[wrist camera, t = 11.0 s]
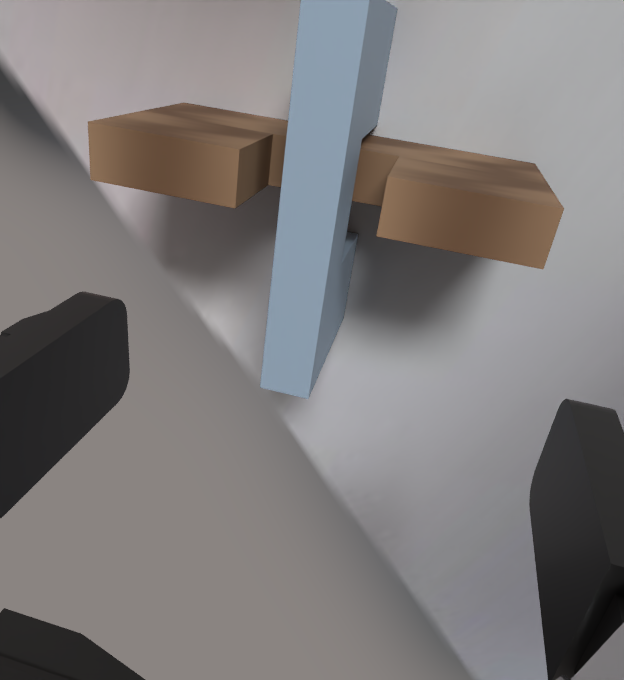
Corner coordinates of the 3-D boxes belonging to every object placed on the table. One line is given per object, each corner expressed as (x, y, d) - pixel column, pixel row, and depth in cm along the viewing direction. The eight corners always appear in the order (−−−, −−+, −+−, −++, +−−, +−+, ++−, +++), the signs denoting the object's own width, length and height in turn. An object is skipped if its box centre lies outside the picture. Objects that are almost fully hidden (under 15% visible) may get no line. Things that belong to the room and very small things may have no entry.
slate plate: (349, 1, 24) (302, -19, 17) (397, 8, 24) (370, -9, 17) (306, 309, 30) (260, 387, 23) (343, 317, 30) (308, 399, 23)
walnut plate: (534, 163, 25) (563, 208, 18) (521, 209, 26) (543, 269, 19) (183, 102, 27) (87, 121, 20) (182, 146, 28) (90, 179, 21)
